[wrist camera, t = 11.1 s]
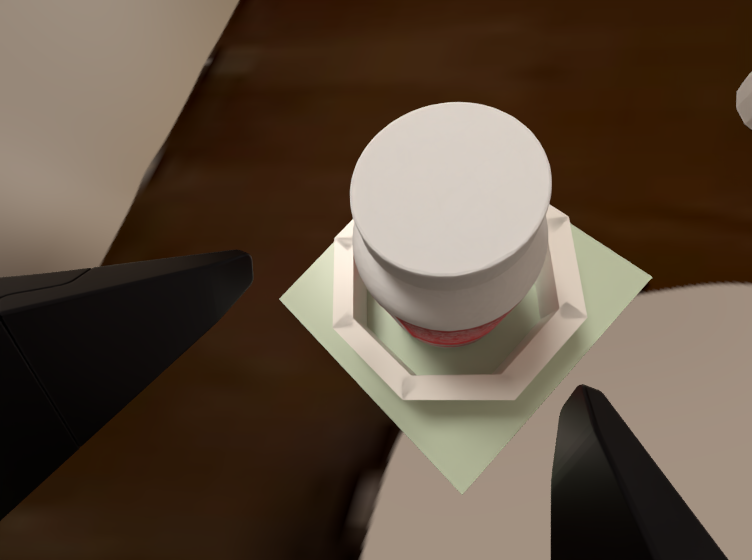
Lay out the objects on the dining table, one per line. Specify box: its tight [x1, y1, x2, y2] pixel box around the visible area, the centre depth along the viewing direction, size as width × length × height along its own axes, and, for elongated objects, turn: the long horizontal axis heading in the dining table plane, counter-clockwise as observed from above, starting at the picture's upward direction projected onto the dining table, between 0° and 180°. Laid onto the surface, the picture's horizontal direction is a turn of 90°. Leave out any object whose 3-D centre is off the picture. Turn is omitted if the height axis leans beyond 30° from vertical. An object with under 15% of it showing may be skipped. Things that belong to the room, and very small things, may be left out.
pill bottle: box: [350, 102, 552, 348], centre depth 13 cm, size 6×6×11 cm
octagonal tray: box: [280, 204, 652, 495], centre depth 17 cm, size 14×14×4 cm
